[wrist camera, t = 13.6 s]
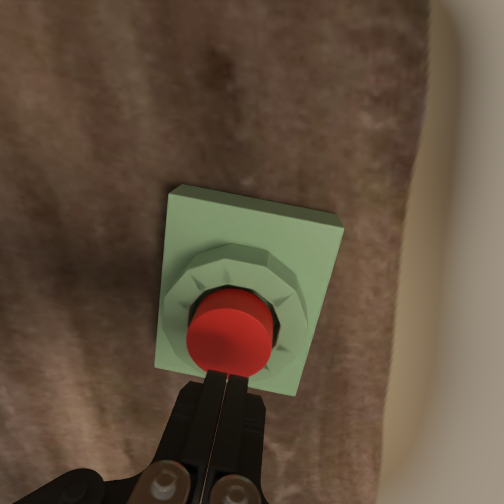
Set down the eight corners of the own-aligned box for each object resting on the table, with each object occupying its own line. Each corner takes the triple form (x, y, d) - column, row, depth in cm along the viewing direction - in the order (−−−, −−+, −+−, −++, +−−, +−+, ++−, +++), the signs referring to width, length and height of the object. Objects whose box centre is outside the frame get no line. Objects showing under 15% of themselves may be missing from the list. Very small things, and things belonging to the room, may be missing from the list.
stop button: (265, 361, 17) (262, 387, 15) (191, 345, 17) (181, 371, 15) (280, 296, 15) (279, 318, 14) (200, 280, 15) (190, 300, 14)
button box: (294, 369, 21) (295, 424, 18) (166, 343, 22) (141, 391, 18) (338, 214, 17) (352, 242, 14) (181, 183, 18) (153, 203, 14)
